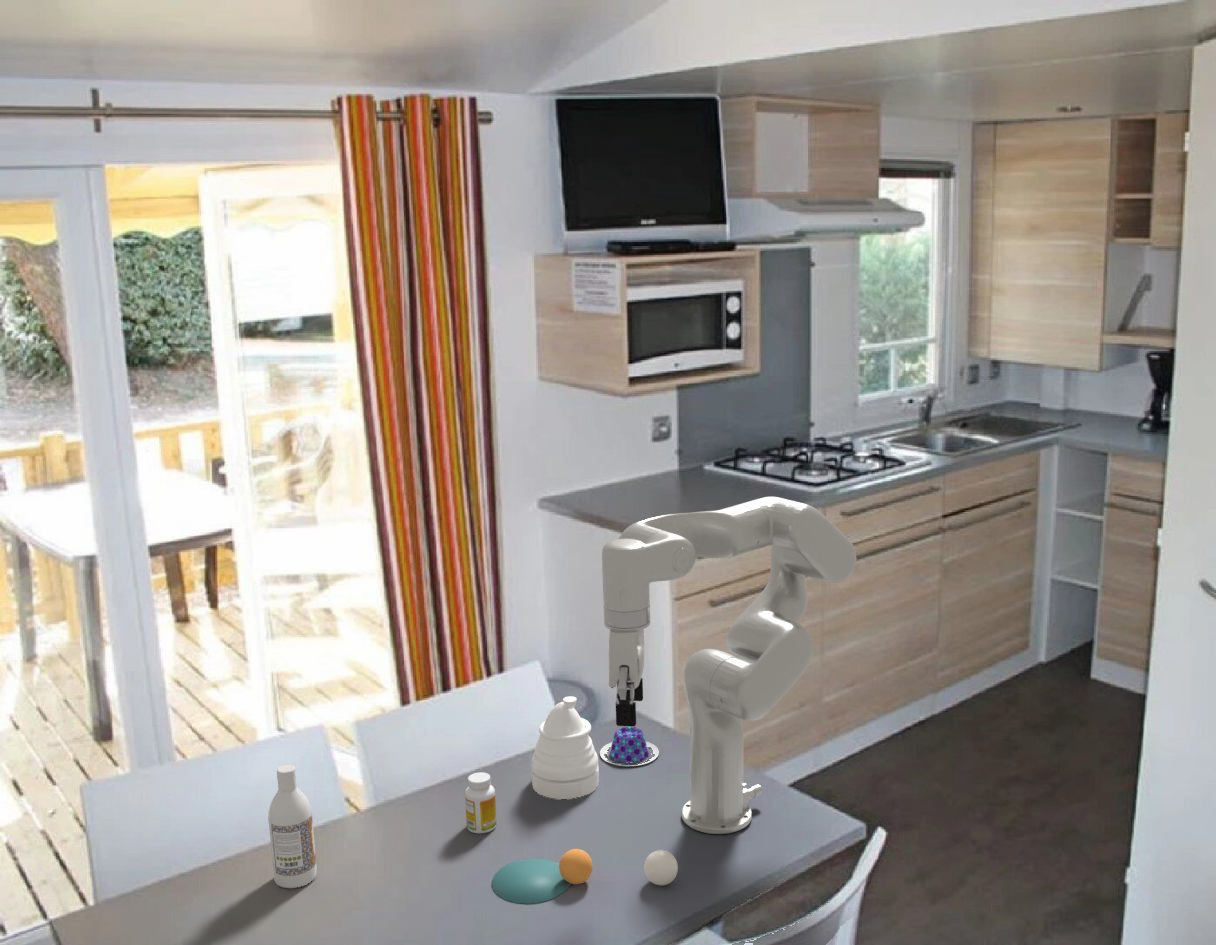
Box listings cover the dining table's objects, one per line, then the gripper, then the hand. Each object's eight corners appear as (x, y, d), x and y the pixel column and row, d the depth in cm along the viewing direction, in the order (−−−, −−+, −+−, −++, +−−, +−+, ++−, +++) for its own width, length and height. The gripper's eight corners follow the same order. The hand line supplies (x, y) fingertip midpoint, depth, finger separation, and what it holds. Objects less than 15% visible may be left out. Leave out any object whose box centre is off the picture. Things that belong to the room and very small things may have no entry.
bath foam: (321, 883, 197) (311, 772, 192) (279, 894, 194) (268, 782, 189) (312, 863, 203) (302, 755, 198) (271, 873, 200) (260, 764, 196)
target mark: (542, 851, 205) (542, 850, 205) (586, 884, 195) (586, 883, 194) (477, 877, 197) (477, 876, 197) (519, 913, 187) (519, 912, 187)
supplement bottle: (499, 819, 216) (497, 770, 214) (493, 834, 211) (491, 784, 208) (470, 818, 216) (467, 769, 214) (463, 834, 211) (461, 784, 209)
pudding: (596, 744, 245) (596, 721, 244) (654, 740, 246) (653, 717, 245) (603, 771, 234) (602, 747, 232) (663, 767, 235) (662, 742, 234)
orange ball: (580, 868, 199) (579, 839, 198) (599, 883, 195) (598, 852, 194) (553, 880, 196) (552, 849, 195) (572, 894, 192) (571, 864, 190)
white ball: (663, 869, 198) (663, 839, 197) (684, 884, 194) (684, 853, 193) (637, 881, 195) (637, 851, 194) (658, 896, 191) (658, 865, 189)
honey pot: (612, 781, 229) (610, 694, 225) (565, 806, 220) (562, 716, 216) (565, 761, 237) (562, 677, 233) (518, 785, 228) (514, 698, 224)
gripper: (611, 597, 202) (614, 690, 206) (596, 634, 185) (599, 735, 189) (655, 597, 201) (657, 691, 204) (643, 635, 184) (646, 736, 188)
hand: (630, 712), depth 197 cm, fingers open, 9 cm apart
